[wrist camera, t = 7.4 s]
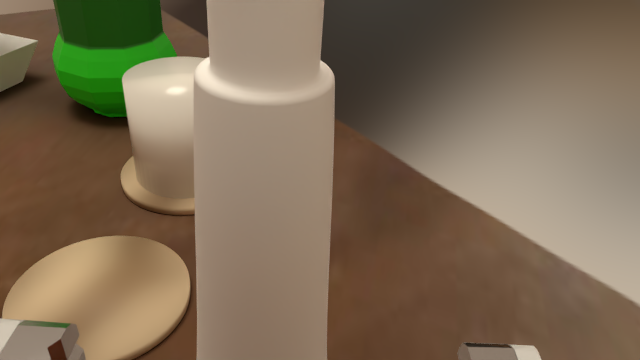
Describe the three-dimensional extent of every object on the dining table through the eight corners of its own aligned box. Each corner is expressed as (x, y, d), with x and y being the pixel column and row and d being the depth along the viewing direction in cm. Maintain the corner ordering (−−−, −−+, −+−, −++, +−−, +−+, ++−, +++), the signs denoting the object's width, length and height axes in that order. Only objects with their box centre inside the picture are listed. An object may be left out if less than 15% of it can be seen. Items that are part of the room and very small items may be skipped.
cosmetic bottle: (247, 351, 26) (238, -209, 14) (358, 412, 24) (464, -197, 11) (156, 454, 21) (25, -240, 9) (281, 543, 19) (326, -231, 7)
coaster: (103, 211, 34) (101, 203, 34) (142, 142, 42) (141, 135, 41) (244, 218, 35) (244, 211, 34) (258, 148, 42) (258, 142, 42)
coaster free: (-33, 367, 24) (-37, 359, 24) (51, 239, 32) (49, 231, 31) (168, 376, 24) (167, 368, 24) (204, 247, 32) (203, 239, 32)
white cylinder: (122, 195, 35) (106, 96, 31) (151, 142, 41) (140, 53, 37) (230, 201, 35) (227, 103, 31) (243, 147, 41) (242, 60, 37)
